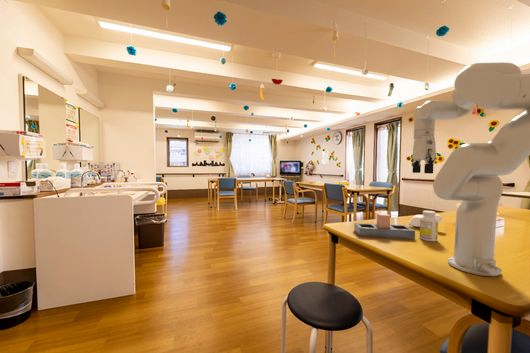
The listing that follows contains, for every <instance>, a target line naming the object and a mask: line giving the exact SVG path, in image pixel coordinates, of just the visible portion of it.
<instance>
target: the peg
mask: <svg viewBox="0 0 530 353" xmlns="http://www.w3.org/2000/svg"><path fill="white" fill-rule="evenodd" d="M376 224H377V227H378V228H390V224H391V215H390V214H388V213H380V212H379V213H378V212H377V213H376Z"/></svg>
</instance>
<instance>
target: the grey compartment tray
mask: <svg viewBox="0 0 530 353" xmlns="http://www.w3.org/2000/svg"><path fill="white" fill-rule="evenodd" d="M353 225H354V228H353V230H354V232H355V233H356V234H357V235H358V237H359V236H360V237H361V238H362V237H363V238H377V239H379V238H380V239H381V238H382V239H399V240H402V239H403V240H415V239H416V230H415V229H413V228H411V227H409V225H408V226H407V225H405V224H391V223H390V228H378V227H377V223H368V222H367V223H363V222H354V224H353Z"/></svg>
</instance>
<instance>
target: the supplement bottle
mask: <svg viewBox="0 0 530 353" xmlns="http://www.w3.org/2000/svg"><path fill="white" fill-rule="evenodd" d="M436 214H437V213H436V211H433V210H422V215H423V216H422V217H420V227H419V238H420V239H421V240H422V241H427V242H437V241H438V237H439V236H438V234H439V232H438V231H439V229H438V228H439V223H438V219H437V218H436V217H435V215H436Z"/></svg>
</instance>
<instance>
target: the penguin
mask: <svg viewBox="0 0 530 353" xmlns="http://www.w3.org/2000/svg"><path fill="white" fill-rule="evenodd" d="M422 216H423V214H416V215H413V217H411V219H410V220H409V221H408V222H407V224H408V227H409V228H411V226H412V227H415V228H420V217H422ZM435 217H436V218H437V219H438V224H440V223H441V222H442V221H443V218H442V216H441V214H438V213H436V215H435Z"/></svg>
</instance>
